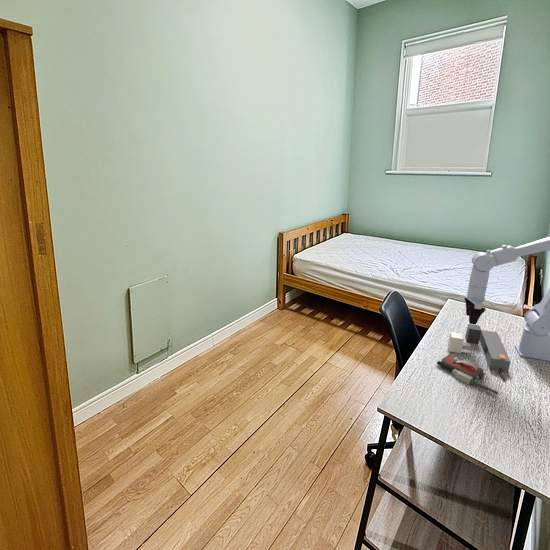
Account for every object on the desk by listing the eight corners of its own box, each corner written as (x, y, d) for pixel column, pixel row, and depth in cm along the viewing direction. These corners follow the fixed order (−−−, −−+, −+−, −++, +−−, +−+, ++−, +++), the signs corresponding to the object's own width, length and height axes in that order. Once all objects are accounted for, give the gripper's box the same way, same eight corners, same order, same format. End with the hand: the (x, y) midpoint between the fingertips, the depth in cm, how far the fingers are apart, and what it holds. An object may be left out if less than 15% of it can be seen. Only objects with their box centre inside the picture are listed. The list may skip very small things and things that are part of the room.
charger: (467, 349, 132) (470, 335, 130) (469, 355, 128) (472, 340, 126) (447, 345, 134) (450, 331, 132) (448, 351, 130) (451, 337, 128)
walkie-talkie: (432, 368, 121) (495, 399, 105) (434, 356, 119) (498, 386, 104) (446, 359, 126) (508, 388, 110) (448, 348, 124) (511, 376, 109)
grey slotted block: (495, 341, 138) (498, 327, 136) (512, 382, 113) (516, 365, 111) (465, 336, 141) (467, 323, 139) (475, 375, 116) (478, 358, 114)
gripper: (462, 278, 137) (456, 310, 141) (468, 290, 124) (461, 326, 128) (483, 280, 135) (476, 313, 139) (491, 293, 122) (483, 329, 126)
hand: (470, 319), depth 133 cm, fingers open, 7 cm apart
